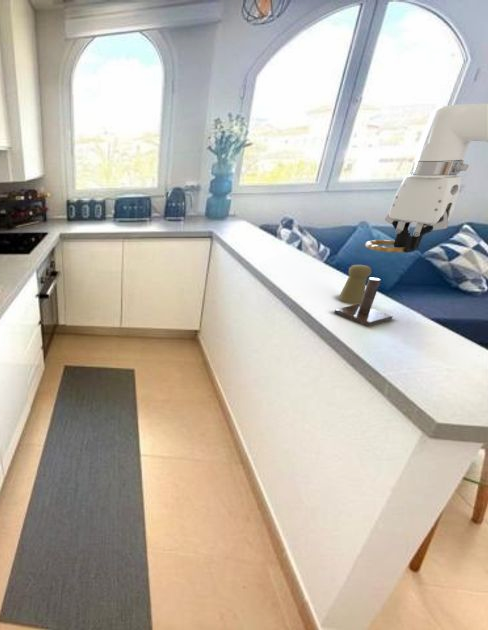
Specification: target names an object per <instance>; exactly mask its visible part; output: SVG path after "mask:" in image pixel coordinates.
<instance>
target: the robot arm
mask: <svg viewBox="0 0 488 630" xmlns="http://www.w3.org/2000/svg"><path fill="white" fill-rule="evenodd" d="M471 142H486V143H488V102H485V103H475V102H474V103H473V102H472V103H459V104H450V105H443V106H440V107H439V106H438V107H437V108H435V109H434V110H433V111H432V112H431V114H430V115H429V117H428V121H427V124H426V127H425V129H424V132H423V135H422V138H421V141H420V144H419V146H418V150H417V153H416V155H415V157H414V162H413V164H412V167H411V169H410V173H409V174H408V175H406V176H405V177H404V178H403V180H402V181H401V183H400V185H399V187H398V189H397V190H396V193H395V195H394V197H393V200H392V202H391V205H390V207H389V211H388V214H387V216H386V217H385V218H384V221H385V222H387V223H388V224H390V225H392V226H393V228H394V229H395V234H396V237H395V239H394V241H395V242H394V246H393V247H405V248H404V252H403V253H406V254H407V253H414V252H415V251H416V250H417V249H419V247H420V244H421V241H422V240H423V236H426V235H427V234H429V233H430V232H433V231H439V230H440V231H441V230H444V229H447V228H448V227H449V221H450V219H451V218H452V216H453V213H454V210H455V207H456V204H457V202H458V198H459V195H460V189H461V184H462V176H461V175H458V174H459V173H460V172H466V171H467V170H468V168H469V166H470V165H469V164H467V163H464V158H465V156H466V153H467V151H468V148H469V145H470V144H471ZM412 223H416V226H415V227H414V230H413V233H412V235H411V232H409V231H410V229H411V226H412Z"/></svg>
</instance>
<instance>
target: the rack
mask: <svg viewBox="0 0 488 630" xmlns="http://www.w3.org/2000/svg"><path fill="white" fill-rule="evenodd" d="M380 283H381V279H380V278H378V277H369V278H368V279H367V282H366V286H365V292H364V295H363V298H362V301H361V303H360V304H351V305H348V306H344V307H340V308H336V309H335V310H334V314H336V315H338V316H340V317H343V318H345V319H347V320H349V321H353V322H355V323H358V324H359V325H360V324H361V325H363V326H365V327H371V326H374V325H377V324H381V323H385V322H389V321H392V319H393V317H394V316H393V315H391V314H388V313H385V312H382V311H380V310H377V309H374V308H372V307H373V303H374V301H375V297H376V295H377V292H378V290H379V287H380Z"/></svg>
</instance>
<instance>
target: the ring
mask: <svg viewBox="0 0 488 630" xmlns="http://www.w3.org/2000/svg"><path fill="white" fill-rule="evenodd" d="M394 242H395V240H389V239H374V240H368V241H366V242H365V244H364V247H365V248H367V249H369V250H372V251H376V252H382V253H383V252H384V253H405V252H404V248H405V247H394ZM391 246H393V247H391Z"/></svg>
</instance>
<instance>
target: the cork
mask: <svg viewBox="0 0 488 630" xmlns="http://www.w3.org/2000/svg"><path fill="white" fill-rule="evenodd" d="M371 274H372V268H371V267H370V266H368V265H364V264H353V265H351V266H350V267H349V268H348V275H349V276H348V277H347V280H346V282H345V284H344V286H343V287H342V290H341V291H340V294H339V295H338V300H339V301H340V302H343V303H347V304H351V305H356V304H361V301H362V298H363V295H364V292H365V289H366V286H367V281H368V277H369V278H370V276H371Z"/></svg>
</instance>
